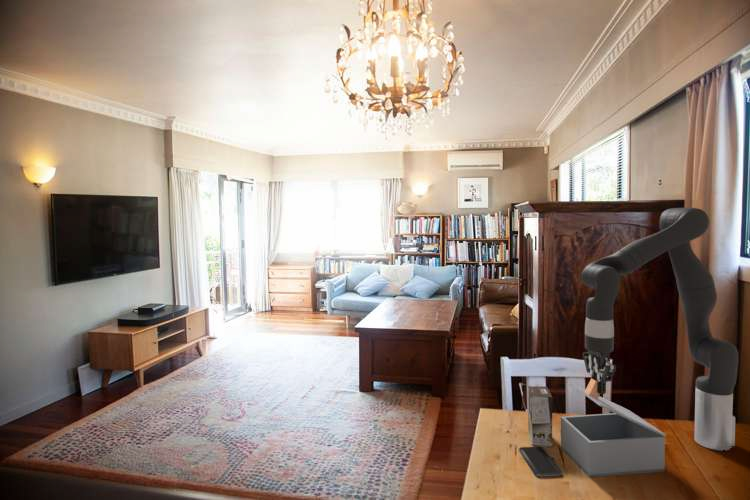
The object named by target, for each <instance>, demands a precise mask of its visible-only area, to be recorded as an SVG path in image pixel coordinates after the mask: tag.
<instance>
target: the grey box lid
mask: <svg viewBox="0 0 750 500" xmlns="http://www.w3.org/2000/svg"><path fill="white" fill-rule="evenodd" d="M569 385H570V386H571V387H573V388H574V389H576V390H577V391H579V392H580V393H581V394H583V395H584V396H585V397H587V398H588V399H589V400H591V401H593V402H594V403H595V404H596V405H597V406H599V407H602V408H603V409H606V410H608V411H609V412H611V413H616V414H618V415H620V416H622V417H624V418H626V419H628V420H631V421H633V422H635V423H637V424H639V425H641V426H643V427H645V428H647V429H650V430H652V431H654V432H656V433H658V434H660V435H662V436H664V437H665V438H666V436H667V435H666V433H664V432H663V431H661V430H659V429H658V428H656V427H655V426H653V425H652V424H651V423H649V422H647V420H645V419H643V418H642V417H640V416H639V415H637V414H635V413H634V412H632V411H631V410H630V409H627V408H625V407H623V406H622V405H619V404H617V403H615V402H612V401H611V400H608V399H606V398H604V397H602V396H600V395H601V394H599V393H597V381H596V380H594V379H592V378H591V377H590V381H589V382H588V384H587V386H586V388H584V387H581V386H579V385H577V384H575V383H572V382H570V383H569Z"/></svg>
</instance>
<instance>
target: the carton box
mask: <svg viewBox="0 0 750 500" xmlns="http://www.w3.org/2000/svg"><path fill="white" fill-rule="evenodd" d="M560 448H561V450H563V451H564V452H565V454H567V456H568V457H569V458H570V459H571V460H572V461H573V462H574V463H575V464H576V465H577V466H578V467H579V468H580V469H581V470H582V471H583V472H584V474H585V475H587V477H588V478H598V477H609V476H610V477H611V476H622V475H624V476H625V475H635V474H637V475H638V474H648V473H661V472H665V468H666V467H665V461H666V460H665V457H666V456H665V455H666V453H665V452H666V436H665V437H664V436H662V435H660V434H658V433H656V432H654V431H652V430H650V429H647V428H645V427H643V426H641V425H639V424H637V423H635V422H633V421H631V420H628V419H626V418H624V417H622V416H620V415H618V414H616V413H614V412H611V413H600V414H599V413H597V414H583V415H582V414H580V415H568V416H567V415H566V416H560Z"/></svg>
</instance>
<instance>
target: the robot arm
mask: <svg viewBox="0 0 750 500" xmlns="http://www.w3.org/2000/svg"><path fill="white" fill-rule="evenodd" d="M658 225H659V229H660V231H658V232H655V233H653V234H651V235H648V236H645V237H642V238H639V239H637V240H635V241H632V242H630V243H628V244H626V245H625V246H624V247H623V246H622V247H621V248H620V249H619V250H617V251H615V252H614V253H612V254H610V255H607V256H605V257H602V258H600V259H598V260H597V259H596V260H595V261H593V262H590V263H589V264H587V265H586V266H585V267H584V268H583V270H582V272H581V274H580V278H581V279H580V280H581V281H582V283H583V284H584V285H585V286H586V287H588V288H591V289H595V294H594V296H593V297H589V298H587V300H586V303H585V322H584V348H585V349H586V350H587V351H586V352H582V357H583V361H584V366H585V370H586V373H587V374H589V376H590V379H591V378H592V379H594V380H596V381H597V393H599V394H600V395H605V394H606V393H607V382H612V380H613V377H614V376H615V373H616V371H617V366H616V364H612V363H611V357H610V354H611V353H612V352H614V346H615V345H614V344H615V342H614V341H615V338H614V337H615V326H614V305H615V302H616V298H617V295H618V291H619V290H620V283H621V280H620V276H624V275H629V274H631V273H633V272H634V271H636V270H637V269H640V268H641V267H642V266H643V265H645V264H647V263H648V262H650V261H652V260H653V259H655V258H657V257H659V256H660V255H663V254H664V253H666V252H667V253H668V255H669V258H670V262H671V265H672V270H673V273H674V277H675V280H676V281H675V282H676V286H677V287H676V288H677V291H678V294H679V298H680V299H679V300H680V302H681V306H682V309H683V315H684V319H685V325H686V334H687V342H688V349H689V350H688V351H689V354H690V356H691V358H692V359H693V361H694V362H696V363H697V364H700V365H701V366H705V367H706V368H709V372H708V373H709V374H708V375H701V376H697V378H696V379H695V390H694V391H695V393H694V396H695V397H694V398H695V399H694V401H695V403H694V441H695V443H697V444H698V445H700V446H702V447H704V448H706V449H710V450H714V451H723V450H725V451H729V450H731V449H732V448H733V447H732V446H734V447H735V446H736V445H735V443H736V442H735V441H736V439H735V438H736V437H735V436H736V416H735V415H733V409H734V408H733V406H734V405H733V402H734V388H735V386H736V383H737V376H738V367H739V351H738V349H737V347H736V345H734V344H733V343H732V342H729V341H727V340H724V339H719V338H716V337H714V336H713V334H712V332H711V327H710V317H711V315H712V312H713V311H714V309H715V306H716V304H717V300H718V295H717V290H716V286H715V281H714V277H713V276H712V274H711V273H710V270H709V269H708V268H707V267H706V265H705V264H704V263H703V262H702V261H701V260H700V258H699V257H698V256H697V255H696V254H695V252H694V249H692V246H691V241H693V240H696V239H699V238H700V237H702V236H703V235H704V234H705V233H706V232H707V230H708V228H709V227H710V226H709V225H710V218H709V216H708V214H707V213H706V211H705V210H703V209H701V208H697V207H672V208H668V209H666V210H664V211H663V212H661V215H660V216H659V224H658ZM730 448H731V449H730ZM723 452H724V451H723Z"/></svg>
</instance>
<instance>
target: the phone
mask: <svg viewBox="0 0 750 500" xmlns="http://www.w3.org/2000/svg"><path fill="white" fill-rule="evenodd" d="M518 451H519V453H520V455H521V456H522V458H523V460H524V461H525V463H526V464H527V466H528V468H529V469H530V470H531V473H532V474H533V476H535V477H536V478H538V479H541V478H542V479H544V478H562V477H563V474H564V473H563V471H562V469H561V468H560V466H558V464H557V463H556V462H555V460H554V459H553V458H552V456H551V455H550V454H549V453H548V451H547V450H546V448H545V447H544V446H520V447H519V448H518Z"/></svg>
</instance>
